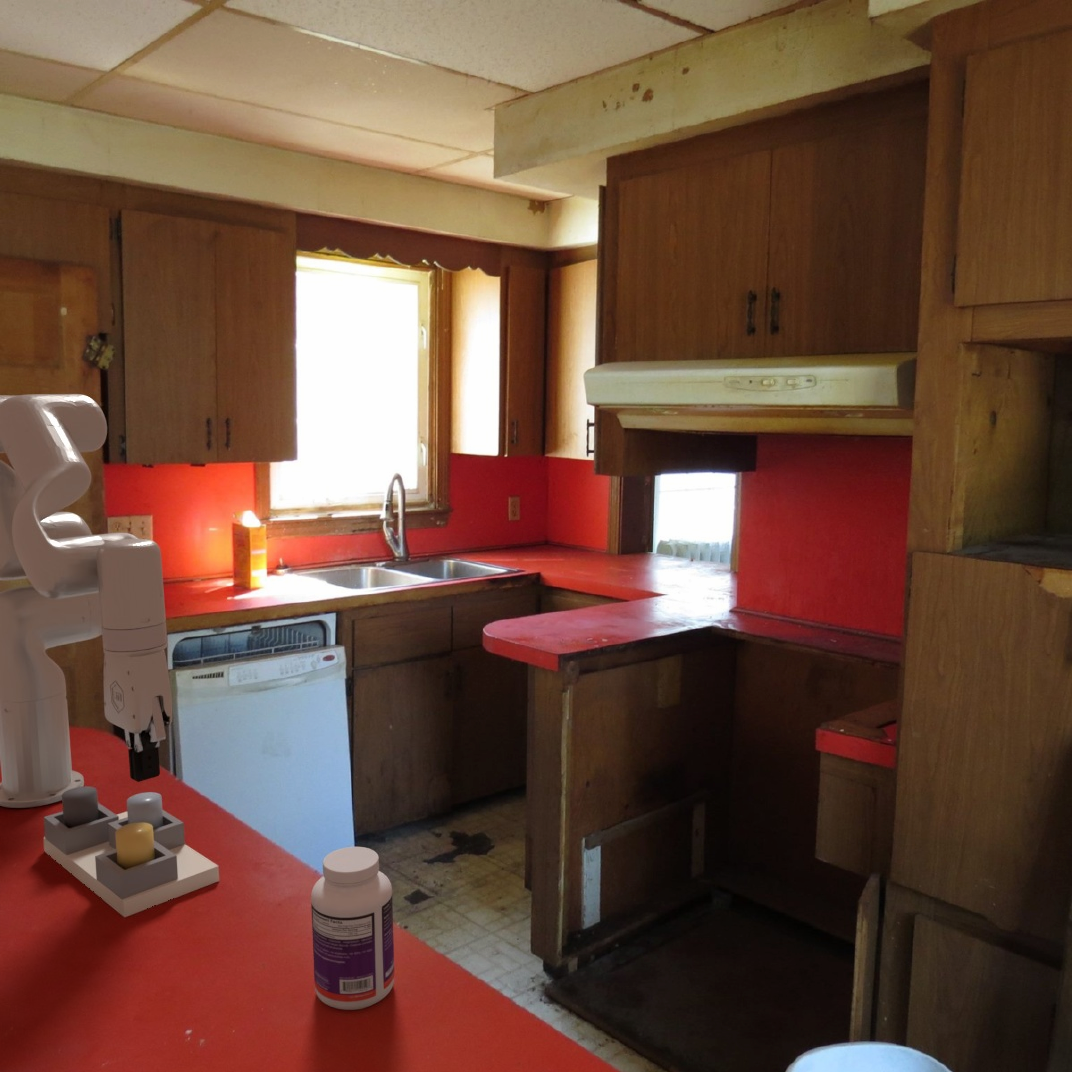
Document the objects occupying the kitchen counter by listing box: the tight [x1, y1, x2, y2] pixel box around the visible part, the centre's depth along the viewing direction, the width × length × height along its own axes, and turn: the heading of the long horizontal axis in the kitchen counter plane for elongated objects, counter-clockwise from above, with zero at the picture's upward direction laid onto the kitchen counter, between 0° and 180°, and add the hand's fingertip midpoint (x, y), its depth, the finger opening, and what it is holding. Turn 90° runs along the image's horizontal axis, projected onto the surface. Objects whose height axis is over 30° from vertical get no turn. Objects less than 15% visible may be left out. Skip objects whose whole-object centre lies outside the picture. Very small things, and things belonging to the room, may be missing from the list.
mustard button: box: [115, 822, 155, 869], centre depth 121 cm, size 4×4×4 cm
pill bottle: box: [310, 846, 395, 1011], centre depth 102 cm, size 8×8×14 cm
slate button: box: [126, 791, 163, 829], centre depth 130 cm, size 4×4×4 cm
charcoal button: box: [61, 785, 99, 828], centre depth 132 cm, size 4×4×4 cm
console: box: [42, 802, 220, 918], centre depth 129 cm, size 24×12×5 cm, turn 46°
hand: (145, 777), depth 129 cm, fingers closed
